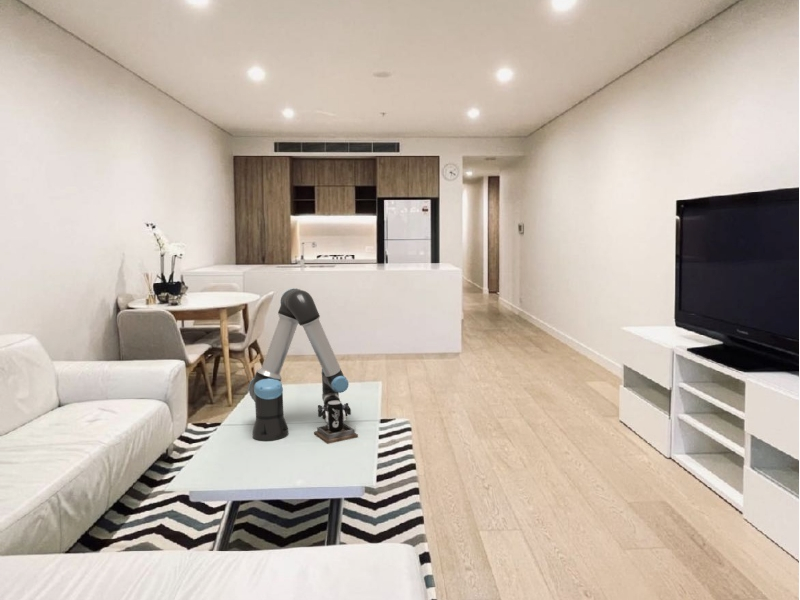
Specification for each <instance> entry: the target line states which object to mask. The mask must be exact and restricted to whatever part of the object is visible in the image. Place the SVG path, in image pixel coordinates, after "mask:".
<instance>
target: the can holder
mask: <svg viewBox="0 0 800 600" xmlns="http://www.w3.org/2000/svg"><path fill="white" fill-rule="evenodd" d="M355 431H356V430H355V429H354V428H352V427H351V426H349V425H348V424H346V423H344V422H343V429H342V430H341V431H338V432H331V431H329V429H328V424H327V425H322V426H317V427H316V431H313V433H314V436H316V437H317V438H319V439H320V440H322V442H324V443H325V444H328V445H329V444H332V443H333V444H334V443H337V442H343V441H346V440H347V441H348V440H351V439H352V440H353V439H357V438H359V435H358V434H357V433H356V432H355Z"/></svg>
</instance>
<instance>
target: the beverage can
mask: <svg viewBox="0 0 800 600" xmlns="http://www.w3.org/2000/svg"><path fill="white" fill-rule="evenodd" d="M343 405H344V404H343V403H342V401H341V400H340V401H338V400H334V401H329V402H328V405H327V413H328V422H327V425H328V429H329V431H331V432H338V431H341V430H342V429H343V423H344V419H343Z"/></svg>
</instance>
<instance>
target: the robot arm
mask: <svg viewBox="0 0 800 600" xmlns="http://www.w3.org/2000/svg"><path fill="white" fill-rule="evenodd" d="M279 306H280V307H279V309H278V311H277V312H278V313H277V315H278V317H279V320H278V322H277V324H276V328H275V330H274V333H273V335H272V338H271V340H270V344H269V347H268V349H267V351H266V355H265V357H264V360H263V362H262V365H261V368H259V369H257V370H256V372H255V374H254V377H253V378H251V381H250V382H249V385H248V393H249V396H250V397H251V399H252V400H253V402H254V405H255V406H254V407H255V422H254V425H253V428H252V439H254V440H257V441H262V442H263V441H265V442H266V441H268V442H269V441H276V440H281V439H283V438H285V437H287V436H289V427H288V426H289V425H288V423H287V422H286V419H285V417H284V414H285V413H284V398H283V397H284V394H283V393H284V389H283V388H284V387H283V384H282V382H281V381H282V376H281V371H282V369H283V366H284V364H285V361H286V358H287V355H288V352H289V350H290V347H291V344H292V341H293V339H294V335H295V333H296V330H297V327H298V325H299V326H301V327H302V328H303V330H304V331H305V334H306V337H307V339H308V341H309V343H310V345H311V347H312V350H313V352H314V355H315V356H316V358H317V360H318V362H319V365H320V367H321V380H322V381H321V383H322V384H321V385H322V386H321V387H322V389H321V390H322V394H321V397H322V401H323V405H321V404H319V405H317V411H318V413H317V414H318V418H321V417H322V419H323V420H325V421H326V423H328V413H327V405H328V402H329V401H334V400H338V401H341V399H340V396H339V395H340V394H342V393H344V392H346V391H347V390H348V388H349V380H348V379H347V377H346V376H345V375H344V373H343V371H342V368H341V367H340V364H339V362H338V359H337V356H336V355H335V352H334V351H333V349H332V346H331V344H330V340H329V339H328V337H327V335H326V332H325V330H324V328H323V326H322V324H321V322H320V321H321V320H320V318H321V315H320V313H319V311H318V309H317V306H316V303H315V301H314V299H313V297H312V295H311V294H310V293H309V292H308V291H306V290H301V289H300V288H290V289H288V290H286V291H285V292H284V293H283V294H282V296H281V297H280V305H279ZM342 405H343V422H344V421H346V417H348V415H349V416H350V415H352V409H351V407H350V406H349V402H346V403H344V404H342Z"/></svg>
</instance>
